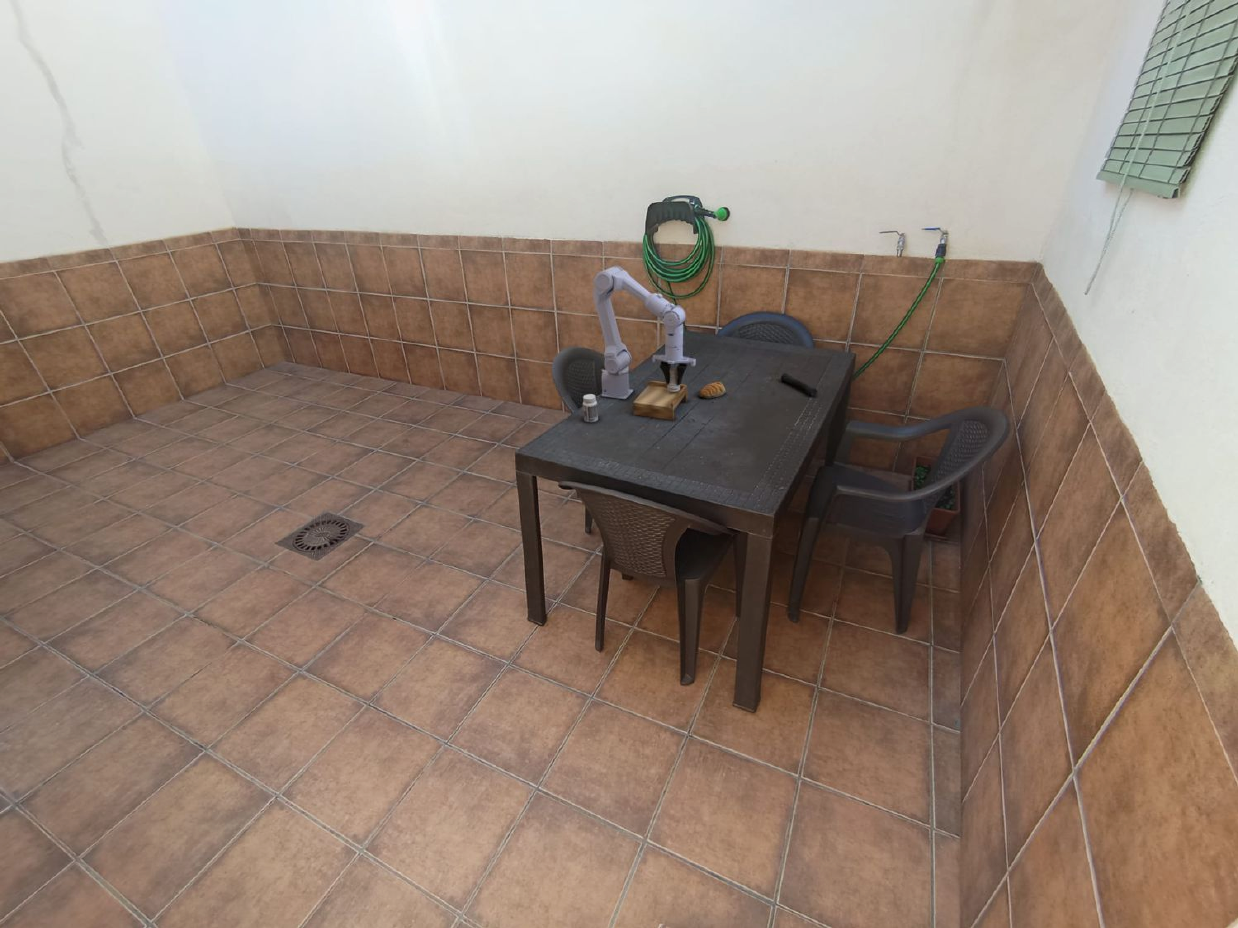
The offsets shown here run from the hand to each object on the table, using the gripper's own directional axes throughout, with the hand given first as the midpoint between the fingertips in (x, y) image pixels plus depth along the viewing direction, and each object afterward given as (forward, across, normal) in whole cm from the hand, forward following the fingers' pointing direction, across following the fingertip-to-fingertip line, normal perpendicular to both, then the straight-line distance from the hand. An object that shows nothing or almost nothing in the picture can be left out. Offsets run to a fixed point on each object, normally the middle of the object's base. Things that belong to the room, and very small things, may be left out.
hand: (673, 383), depth 191 cm
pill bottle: (+8, -22, -20) cm, 31 cm away
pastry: (+8, +11, +12) cm, 18 cm away
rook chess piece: (+3, 0, 0) cm, 3 cm away
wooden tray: (+8, -3, -4) cm, 9 cm away
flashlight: (+8, +38, +26) cm, 47 cm away
